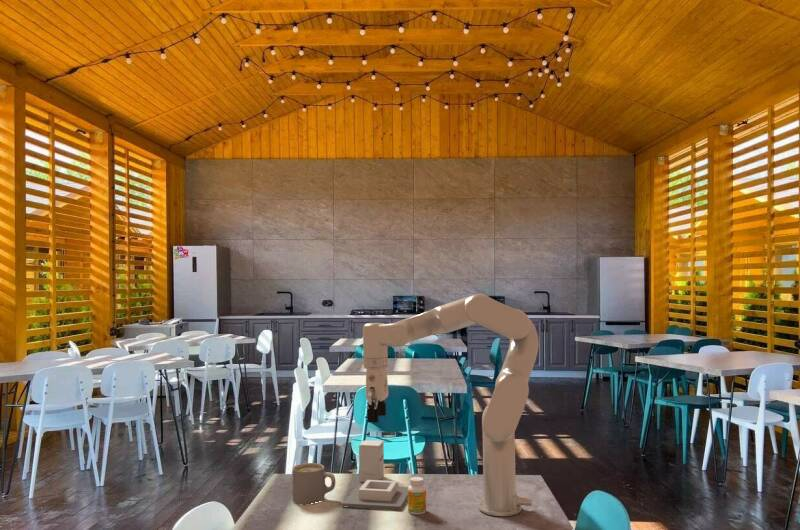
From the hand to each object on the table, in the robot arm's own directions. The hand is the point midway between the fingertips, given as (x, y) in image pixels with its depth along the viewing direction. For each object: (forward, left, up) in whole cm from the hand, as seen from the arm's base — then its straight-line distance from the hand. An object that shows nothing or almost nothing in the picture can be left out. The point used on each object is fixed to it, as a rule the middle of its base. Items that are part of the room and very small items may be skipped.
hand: (377, 418), depth 193 cm
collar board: (+1, -5, -26) cm, 27 cm away
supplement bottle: (-13, +4, -27) cm, 30 cm away
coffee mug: (+21, -1, -27) cm, 34 cm away
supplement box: (+8, -24, -27) cm, 37 cm away
